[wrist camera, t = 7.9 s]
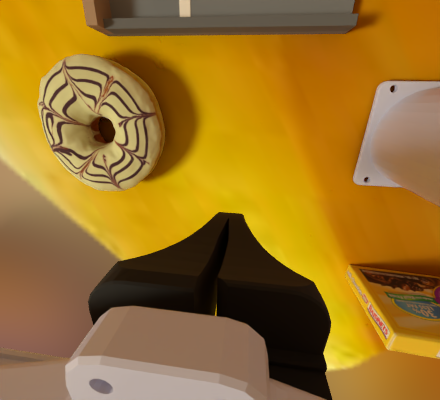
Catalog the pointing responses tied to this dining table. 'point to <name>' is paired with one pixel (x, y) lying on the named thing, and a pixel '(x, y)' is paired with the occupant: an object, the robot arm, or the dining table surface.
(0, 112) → the dining table surface
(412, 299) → the candy box
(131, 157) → the decorated donut
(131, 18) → the lane
